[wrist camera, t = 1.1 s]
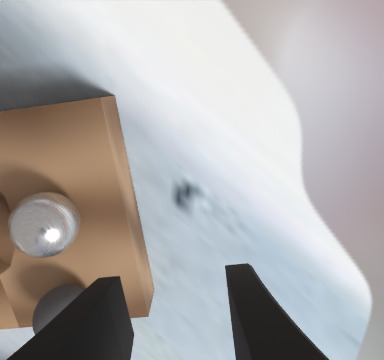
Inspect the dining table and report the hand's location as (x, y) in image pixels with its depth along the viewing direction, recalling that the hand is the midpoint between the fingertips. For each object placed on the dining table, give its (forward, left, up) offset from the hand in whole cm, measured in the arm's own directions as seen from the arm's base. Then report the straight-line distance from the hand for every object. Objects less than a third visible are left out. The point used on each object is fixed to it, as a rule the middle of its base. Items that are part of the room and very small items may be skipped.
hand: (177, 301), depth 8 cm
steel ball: (0, +7, -6) cm, 9 cm away
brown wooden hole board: (-1, +12, -10) cm, 16 cm away
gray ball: (-5, +8, -6) cm, 11 cm away
